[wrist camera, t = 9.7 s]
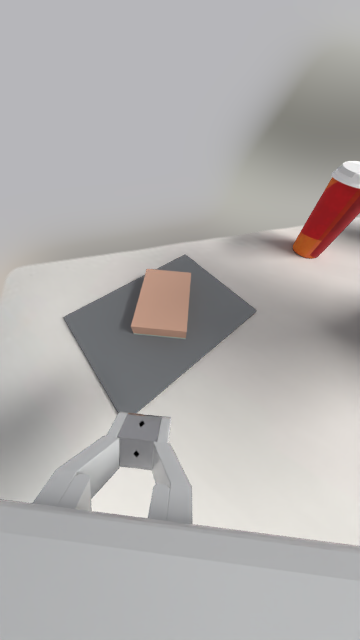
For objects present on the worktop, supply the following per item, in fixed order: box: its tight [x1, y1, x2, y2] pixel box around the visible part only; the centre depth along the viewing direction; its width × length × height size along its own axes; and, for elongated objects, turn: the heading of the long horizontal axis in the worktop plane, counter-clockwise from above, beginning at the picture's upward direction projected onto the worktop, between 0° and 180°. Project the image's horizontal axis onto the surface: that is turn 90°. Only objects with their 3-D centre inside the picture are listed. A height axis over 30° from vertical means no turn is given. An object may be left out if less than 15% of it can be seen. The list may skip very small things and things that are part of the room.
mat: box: [63, 255, 257, 414], centre depth 29 cm, size 26×19×1 cm
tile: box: [131, 269, 191, 339], centre depth 29 cm, size 2×8×12 cm
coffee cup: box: [293, 161, 360, 258], centre depth 34 cm, size 8×8×15 cm
